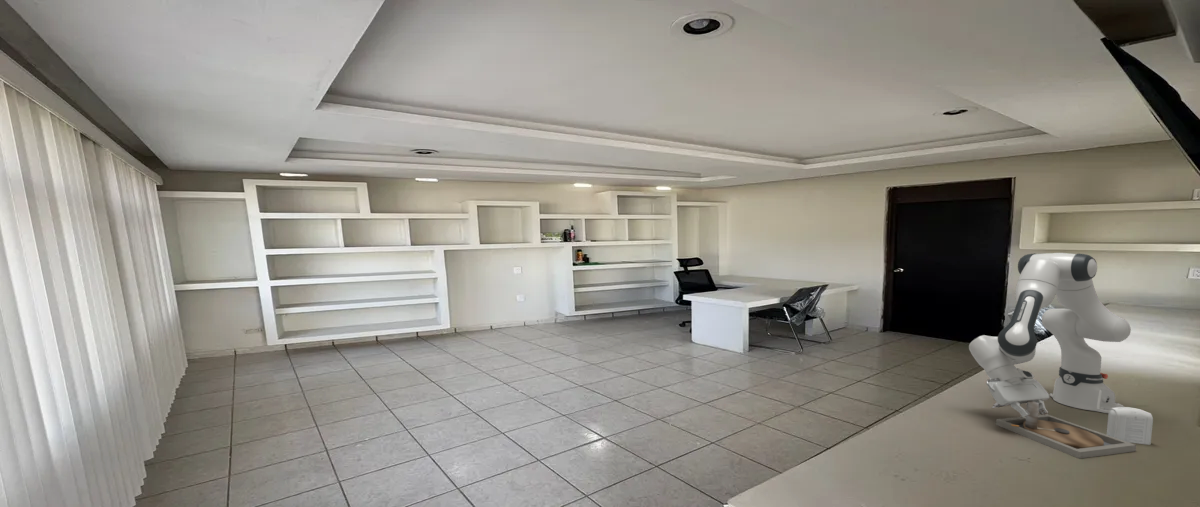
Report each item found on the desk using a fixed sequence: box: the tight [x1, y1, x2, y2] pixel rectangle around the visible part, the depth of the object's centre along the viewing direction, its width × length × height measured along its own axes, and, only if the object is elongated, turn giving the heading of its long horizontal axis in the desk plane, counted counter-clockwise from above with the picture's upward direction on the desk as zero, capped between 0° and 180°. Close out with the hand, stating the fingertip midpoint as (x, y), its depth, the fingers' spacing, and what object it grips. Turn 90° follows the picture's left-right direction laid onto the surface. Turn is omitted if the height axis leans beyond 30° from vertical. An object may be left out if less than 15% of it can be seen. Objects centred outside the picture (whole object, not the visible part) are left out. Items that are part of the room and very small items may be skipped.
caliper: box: [991, 401, 1001, 409], centre depth 182 cm, size 20×1×6 cm, turn 118°
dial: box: [1023, 401, 1104, 449], centre depth 151 cm, size 19×19×11 cm
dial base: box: [995, 413, 1137, 459], centre depth 151 cm, size 24×24×3 cm
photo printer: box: [1106, 406, 1154, 446], centre depth 149 cm, size 10×4×12 cm, turn 72°
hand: (1036, 415), depth 152 cm, fingers open, 7 cm apart
